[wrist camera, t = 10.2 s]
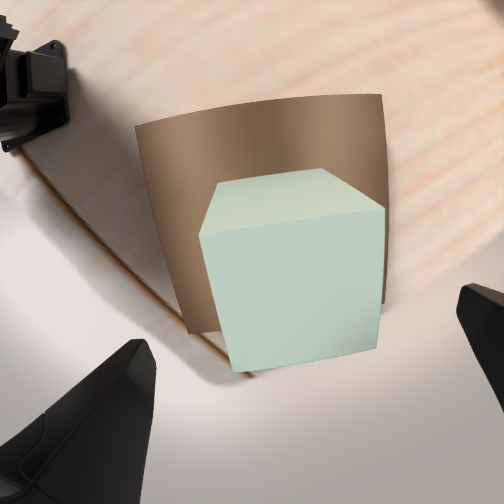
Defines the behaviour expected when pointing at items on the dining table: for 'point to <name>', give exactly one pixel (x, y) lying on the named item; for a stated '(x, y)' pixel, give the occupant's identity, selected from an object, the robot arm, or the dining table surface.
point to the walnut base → (252, 170)
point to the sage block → (294, 268)
